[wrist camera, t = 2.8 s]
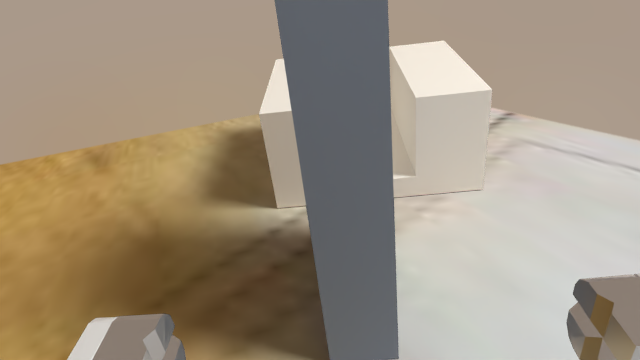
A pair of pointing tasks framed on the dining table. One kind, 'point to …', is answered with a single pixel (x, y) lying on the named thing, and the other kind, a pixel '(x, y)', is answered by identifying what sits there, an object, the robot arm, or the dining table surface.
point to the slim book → (346, 165)
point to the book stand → (401, 125)
